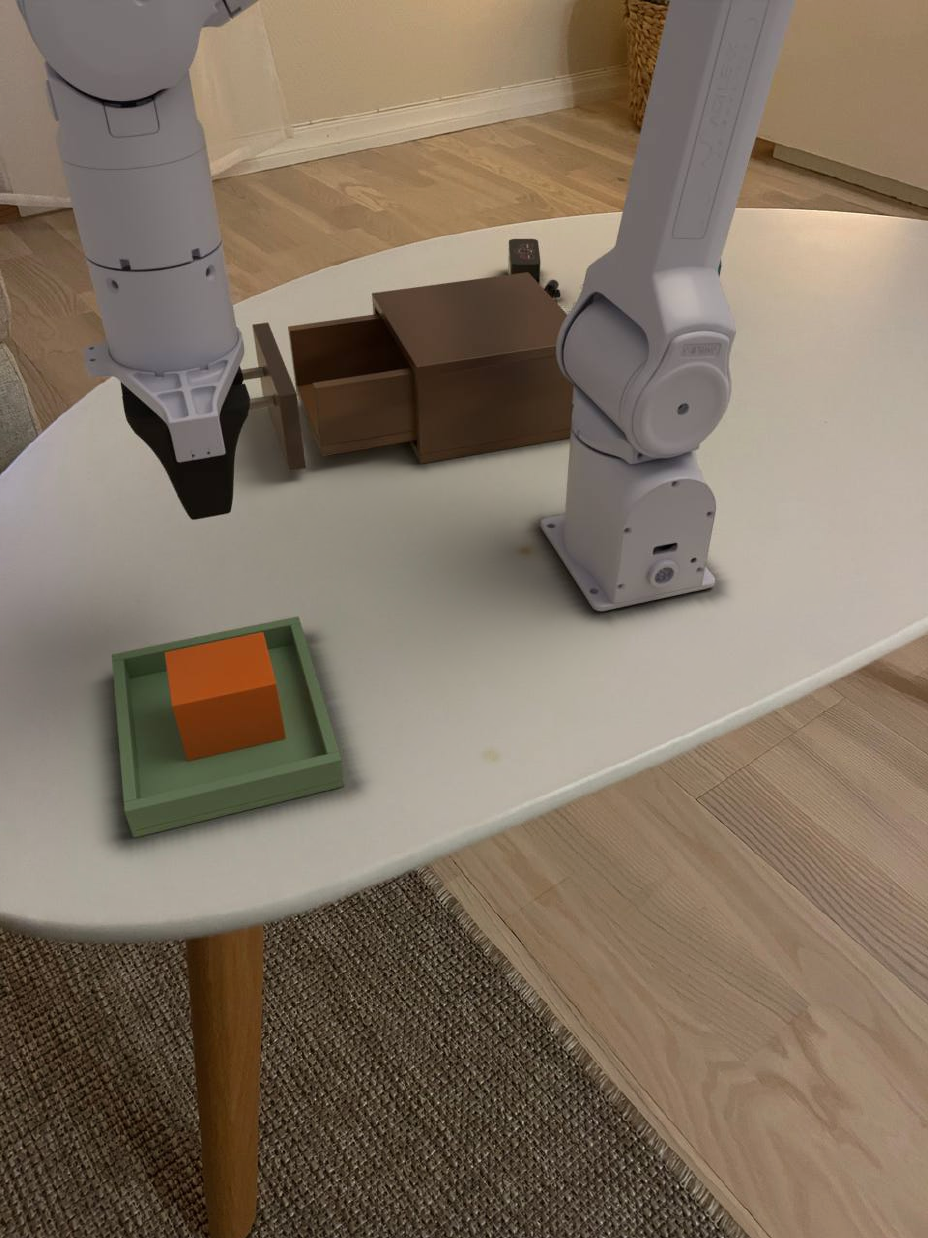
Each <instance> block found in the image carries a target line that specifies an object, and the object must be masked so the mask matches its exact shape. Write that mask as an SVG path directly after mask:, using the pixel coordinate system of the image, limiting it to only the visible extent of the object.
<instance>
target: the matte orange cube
mask: <svg viewBox="0 0 928 1238" xmlns="http://www.w3.org/2000/svg"><path fill="white" fill-rule="evenodd" d="M165 660H166V667H167V675H168V682H169V689H170V696H171V703H172V708H173V712H174V716H175V719H176V723H177V726H178V730H179V733H180V737H181V741H182V744H183V748H184V751H185V755H186V758H187V761H191V760H195V759H200V758H204V757H208V756H213V755H217V754H221V753H226V752H230V751H234V750H239V749H243V748H247V747H252V746H256V745H260V744H265V743H269V742H273V741H277V740H282V739H285V738H286V735H285V729H284V724H283V718H282V712H281V707H280V701H279V696H278V690H277V685H276V680H275V676H274V672H273V668H272V664H271V661H270V657H269V653H268V649H267V645H266V641H265V637H264V633H263V632H260V633H256V634H251V635H246V636H241V637H236V638H231V639H226V640H222V641H217V642H212V643H207V644H202V645H197V646H193V647H188V648H183V649H178V650H173V651H168V652H165Z"/></svg>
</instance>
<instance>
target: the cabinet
mask: <svg viewBox="0 0 928 1238" xmlns="http://www.w3.org/2000/svg"><path fill="white" fill-rule="evenodd" d="M544 289H545V288H544V287H542V285H541V284H540V285H539V284H538V282H537V281H536V280H535V279H534V278H533V277H532V276H531V275H530V274H529V273H528V272H526V273H518V274H511V275H509V274H503V275H498V276H497V275H496V276H489V277H482V278H474V279H468V280H460V281H452V282H444V283H438V284H429V285H422V286H414V287H408V288H407V287H406V288H401V289H393V290H385V291H378V292H377V291H376V292H371V300H372V301H371V302H372V315H374V314H380V316H381V318H382V319H383V321H384V323H385V324H386V326H387V328H388V329H389V331H390V333H391V334H392V336H393V338H394V339H395V341H396V343H397V344H398V346H399V348H400V349H401V351H402V353H403V354H404V356H405V358H406V359H407V361H408V363H409V364H410V366H411V368H412V369H413V371H414V383H415V407H416V431H417V440H413V441H408V443H409V445H410V447H411V449H412V450H413V452H414V454H415V456H416V458H417V459H418V461H419V464H421V465H423V464H428V463H434V462H441V461H445V460H451V459H456V458H463V457H468V456H469V457H470V456H474V455H480V454H486V453H492V452H497V451H501V450H502V451H503V450H508V449H515V448H520V447H525V446H532V445H536V444H543V443H547V442H554V441H560V440H565V439H570V436H571V425H572V412H573V407H574V405H573V403H572V402H573V388H574V384H573V383H572V382H570V381H569V380H568V379H567V378H566V377H565V376H564V374H563V373H562V371H561V369H560V367H559V364H558V361H557V356H556V343H557V338H558V334H559V331H560V328H561V326H562V324H563V322H564V320H565V318H566V317H567V315H568V314H567V312H565V310H564V309H563V308H562V307H561V306H560V305H559V303H557V302H556V301H555V300H554V298H553V297H552V298H551V296H550V295H549V294H548V293H547V292H546V291H545V290H544Z"/></svg>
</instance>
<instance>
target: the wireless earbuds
mask: <svg viewBox="0 0 928 1238" xmlns="http://www.w3.org/2000/svg"><path fill="white" fill-rule="evenodd" d="M507 257H508V259H507V261H508V263H507V271H508V274H507V275H511V274H518V273H526V272H528V273H529V274H530V275H531V276H532V277H533V278H534V279H535V280H536V281H537V282H538V284H539V285H540V286H541V283H540V282H541V263H542V262H541V254H540V246H539V241H538V239H536V238H512V239H509V240H508V255H507ZM558 288H559V282H558V280H556V279H550V280H548V282H547V283H546V285H545V287H544V288H543V289H544V290H545V291H546V292H547V293H548V294H549V295H550V296H551V298H552V299H558V298H561V290H560V289H558Z"/></svg>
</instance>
